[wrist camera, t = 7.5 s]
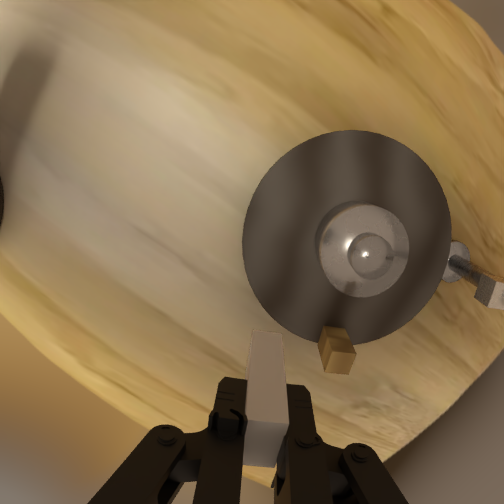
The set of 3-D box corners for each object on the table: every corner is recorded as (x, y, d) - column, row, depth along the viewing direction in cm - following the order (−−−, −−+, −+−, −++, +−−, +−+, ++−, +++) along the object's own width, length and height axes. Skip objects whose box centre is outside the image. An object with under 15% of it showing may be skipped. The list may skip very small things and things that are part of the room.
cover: (307, 277, 31) (316, 300, 25) (321, 194, 29) (334, 200, 23) (383, 285, 31) (403, 308, 25) (399, 208, 29) (425, 217, 23)
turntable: (227, 321, 35) (219, 356, 28) (265, 111, 29) (265, 95, 22) (407, 346, 35) (430, 378, 28) (459, 165, 29) (497, 167, 22)
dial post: (426, 276, 34) (485, 323, 22) (438, 235, 33) (505, 269, 20) (459, 282, 34) (520, 327, 22) (471, 244, 33) (538, 278, 20)
